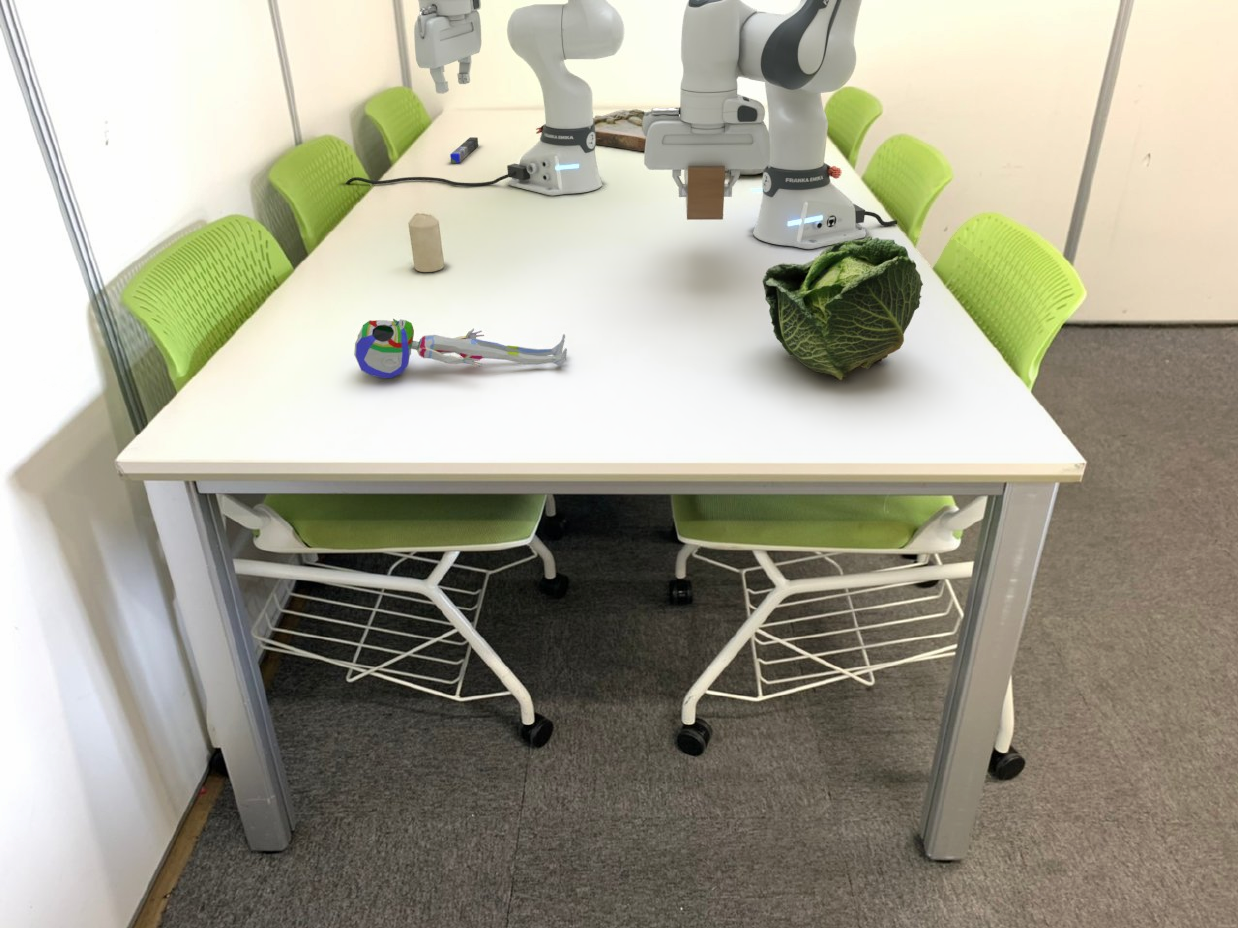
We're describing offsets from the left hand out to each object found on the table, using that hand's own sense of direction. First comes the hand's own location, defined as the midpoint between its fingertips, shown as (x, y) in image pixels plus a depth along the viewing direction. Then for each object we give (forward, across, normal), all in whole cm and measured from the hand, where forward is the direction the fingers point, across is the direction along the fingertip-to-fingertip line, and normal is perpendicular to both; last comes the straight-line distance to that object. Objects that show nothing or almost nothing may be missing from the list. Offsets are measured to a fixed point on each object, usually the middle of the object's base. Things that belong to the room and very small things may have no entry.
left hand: (453, 88), depth 162 cm
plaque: (+30, +102, -7) cm, 107 cm away
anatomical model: (+30, +69, -46) cm, 88 cm away
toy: (+30, -50, -21) cm, 62 cm away
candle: (+30, -12, +3) cm, 32 cm away
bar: (+16, -2, -46) cm, 49 cm away
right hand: (+13, -12, -49) cm, 52 cm away
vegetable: (+30, -36, -74) cm, 87 cm away
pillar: (+30, +71, +32) cm, 84 cm away
